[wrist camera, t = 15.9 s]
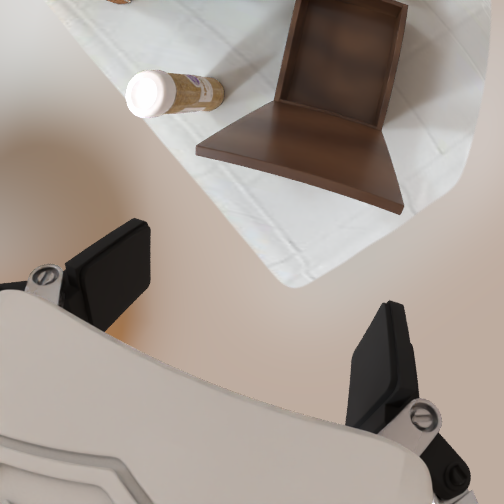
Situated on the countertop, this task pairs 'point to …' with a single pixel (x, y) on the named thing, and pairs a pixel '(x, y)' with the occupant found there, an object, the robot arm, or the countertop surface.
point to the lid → (311, 152)
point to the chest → (343, 58)
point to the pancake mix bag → (120, 1)
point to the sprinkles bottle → (171, 93)
